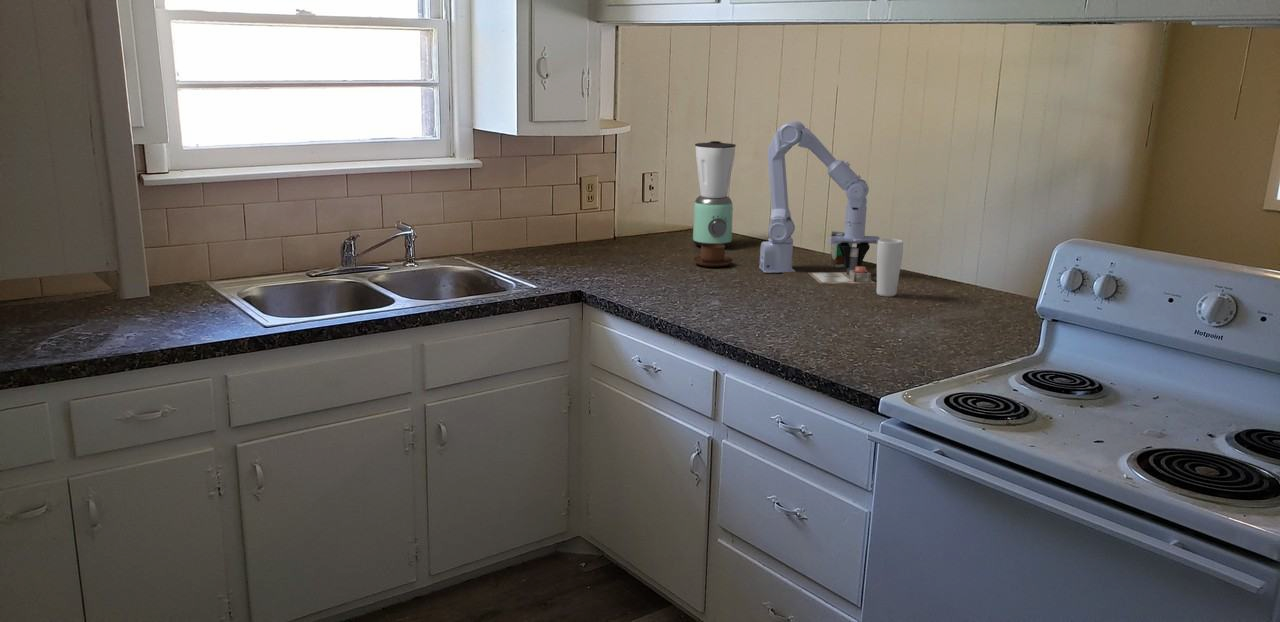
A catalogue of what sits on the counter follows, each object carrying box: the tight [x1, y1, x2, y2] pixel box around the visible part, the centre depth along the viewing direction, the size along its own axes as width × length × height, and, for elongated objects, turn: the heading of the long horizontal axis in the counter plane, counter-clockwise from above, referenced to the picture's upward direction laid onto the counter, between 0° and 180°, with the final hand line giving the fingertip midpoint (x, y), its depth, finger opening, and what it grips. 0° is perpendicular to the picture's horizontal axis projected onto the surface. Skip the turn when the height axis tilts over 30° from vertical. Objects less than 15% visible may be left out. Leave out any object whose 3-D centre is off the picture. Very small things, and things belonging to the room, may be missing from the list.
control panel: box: [807, 270, 876, 285], centre depth 285 cm, size 16×14×3 cm
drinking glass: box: [875, 238, 904, 298], centre depth 265 cm, size 7×7×15 cm
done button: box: [855, 265, 867, 273], centre depth 281 cm, size 3×3×2 cm
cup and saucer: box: [692, 244, 733, 268], centre depth 302 cm, size 12×12×6 cm
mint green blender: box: [692, 140, 737, 249], centre depth 329 cm, size 19×13×35 cm
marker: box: [846, 246, 859, 275], centre depth 288 cm, size 3×3×8 cm
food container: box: [829, 230, 855, 269], centre depth 302 cm, size 12×6×10 cm, turn 179°
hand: (852, 267), depth 289 cm, fingers closed on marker, 3 cm apart
